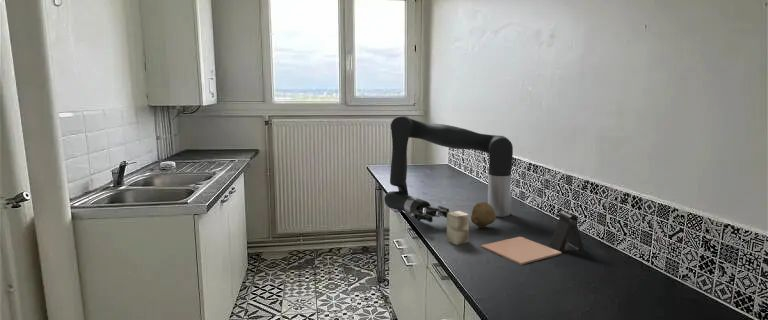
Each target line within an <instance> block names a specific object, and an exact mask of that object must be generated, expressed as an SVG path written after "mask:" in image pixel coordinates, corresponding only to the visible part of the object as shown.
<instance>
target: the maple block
mask: <svg viewBox="0 0 768 320" xmlns="http://www.w3.org/2000/svg"><path fill="white" fill-rule="evenodd" d="M449 212H450V211H449ZM469 225H470V214H469V213H466V212H463V211H460V210H456V211H451V212H450V213H447V218H446V241H447V242H450V243H452V244H454V245H462V244H466V243H469V237H470V236H469V234H470V231H469V230H470V228H469V227H470V226H469Z"/></svg>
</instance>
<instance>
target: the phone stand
mask: <svg viewBox="0 0 768 320" xmlns="http://www.w3.org/2000/svg"><path fill="white" fill-rule="evenodd" d="M558 217H559V218H558V222H557V224H556V227H555V229H554V232H553V235H552V238H551V239H550V242H549V246H550V248H552V249H555V250H557V251H560V252H562V253H564V252H575V251H577V252H578V251H584V250H585V248H584V247H585V246H584V244H583V241H582V237H581V233H580V230H579V228H578V227H579V226H578V217H577V216H576V215H574V214H572V213H570V212H569V211H566V210H564V211H563V210H561V211H560V212H559V214H558ZM567 241H568V243H567Z"/></svg>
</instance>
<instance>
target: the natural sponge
mask: <svg viewBox="0 0 768 320" xmlns="http://www.w3.org/2000/svg"><path fill="white" fill-rule="evenodd" d="M470 221H471V222H472V224H473V225H476V226H477V227H479V228H486V227H487V226H489V225H492V224H493V223H494V222H495V221H496V215H495V213H494V210H493V208H492V207H491V205H489V204H488V202H485V201H483V202H477V203H476V204H474V206H473V207H472V211H471V216H470Z"/></svg>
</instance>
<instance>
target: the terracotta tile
mask: <svg viewBox="0 0 768 320" xmlns="http://www.w3.org/2000/svg"><path fill="white" fill-rule="evenodd" d="M480 247H481V248H482V249H484V250H487V251H489V252H492V253H493V254H495V255H498V256H501V257H502V258H505V259H507V260H509V261H511V262H513V263H516V264H518V265H521V266H522V265H526V264H529V263H533V262H537V261H540V260H543V259H549V258H551V257H555V256H559V255H562V253H563V252H560V251H557V250H556V249H554V248H553V247H549V246H546V245H544V244H541V243H539V242H536V241H533V240H530V239H528V238H526V237H522V236H517V237H512V238H508V239H503V240H499V241H494V242H490V243H486V244H485V243H484V244H481V245H480Z"/></svg>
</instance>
